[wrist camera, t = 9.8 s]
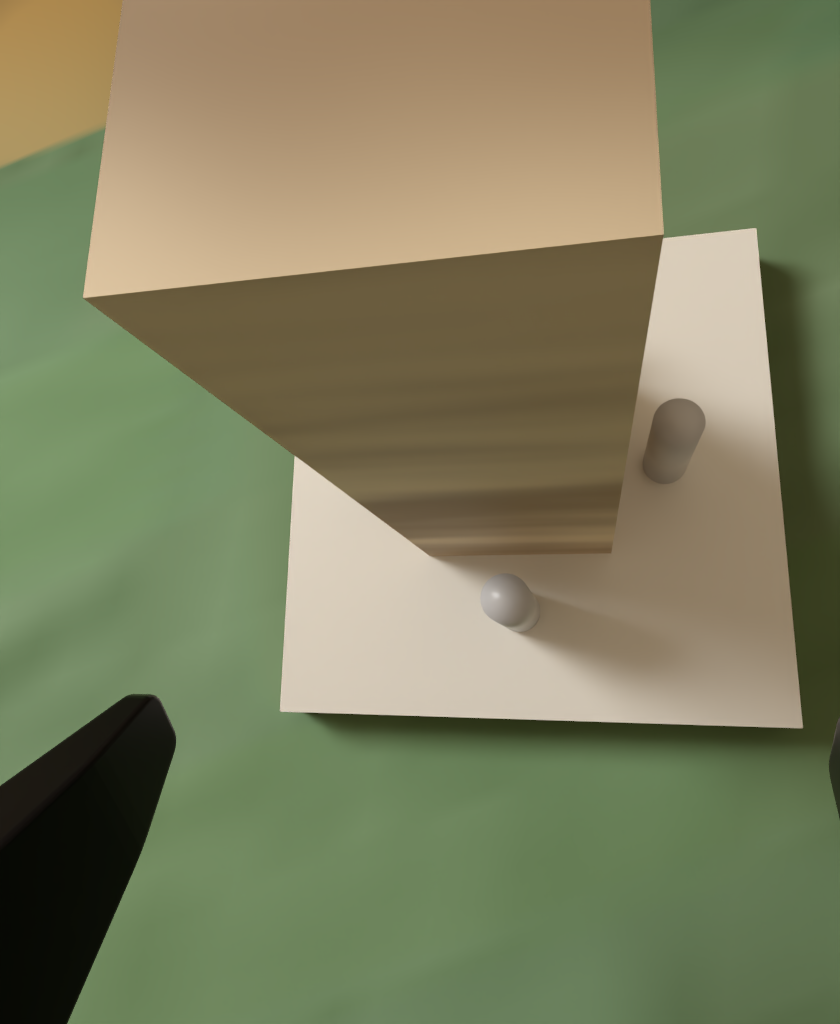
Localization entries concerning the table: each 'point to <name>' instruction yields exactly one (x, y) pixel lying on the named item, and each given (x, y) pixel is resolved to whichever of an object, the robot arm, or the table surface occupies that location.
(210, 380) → the maple block
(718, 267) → the pin plate
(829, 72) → the table surface
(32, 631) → the table surface
